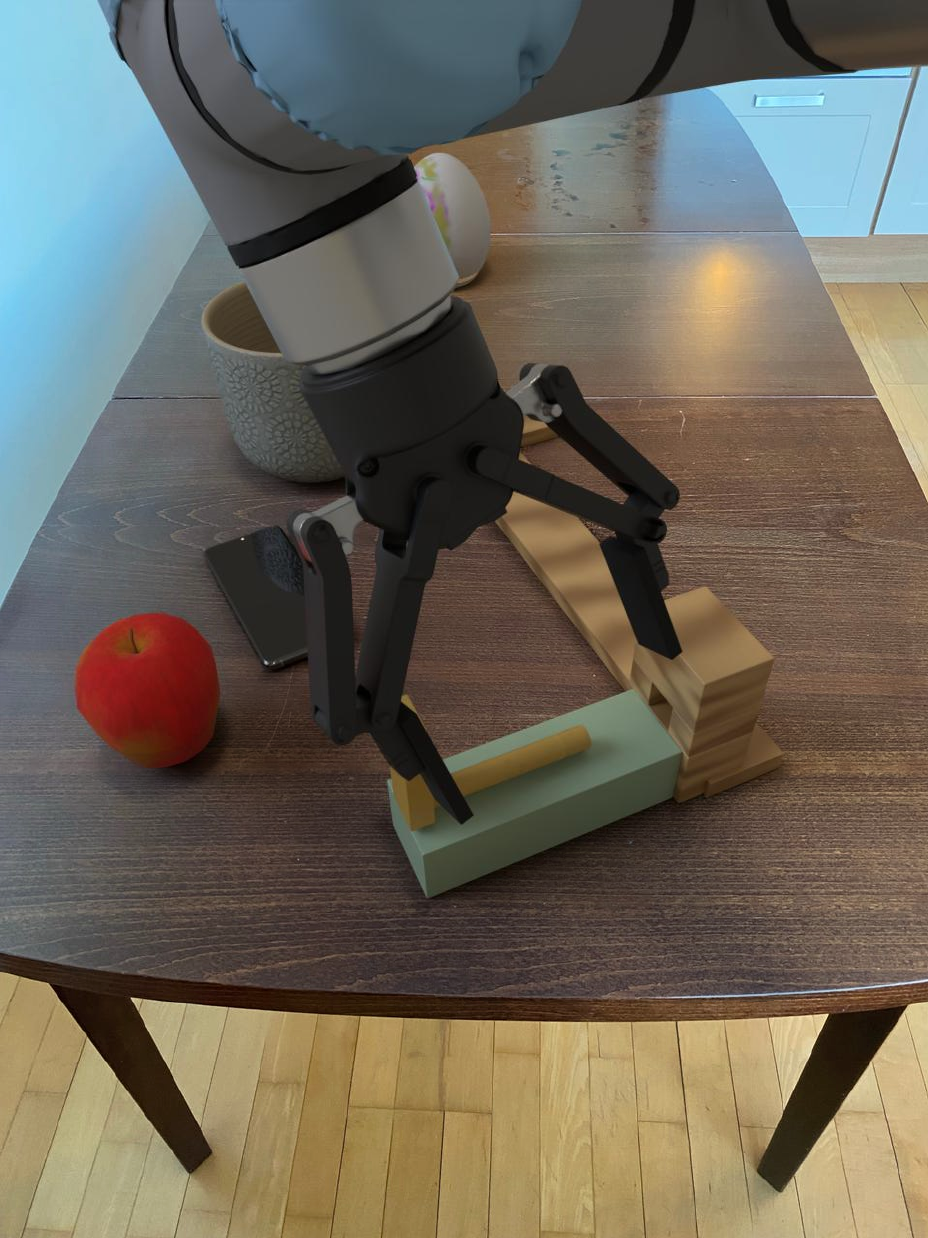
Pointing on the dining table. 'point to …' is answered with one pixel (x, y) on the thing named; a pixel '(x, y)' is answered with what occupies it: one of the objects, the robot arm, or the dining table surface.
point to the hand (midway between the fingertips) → (561, 725)
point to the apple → (150, 689)
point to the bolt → (484, 771)
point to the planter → (263, 393)
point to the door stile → (546, 794)
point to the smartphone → (264, 592)
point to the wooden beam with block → (672, 689)
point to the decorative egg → (457, 211)
